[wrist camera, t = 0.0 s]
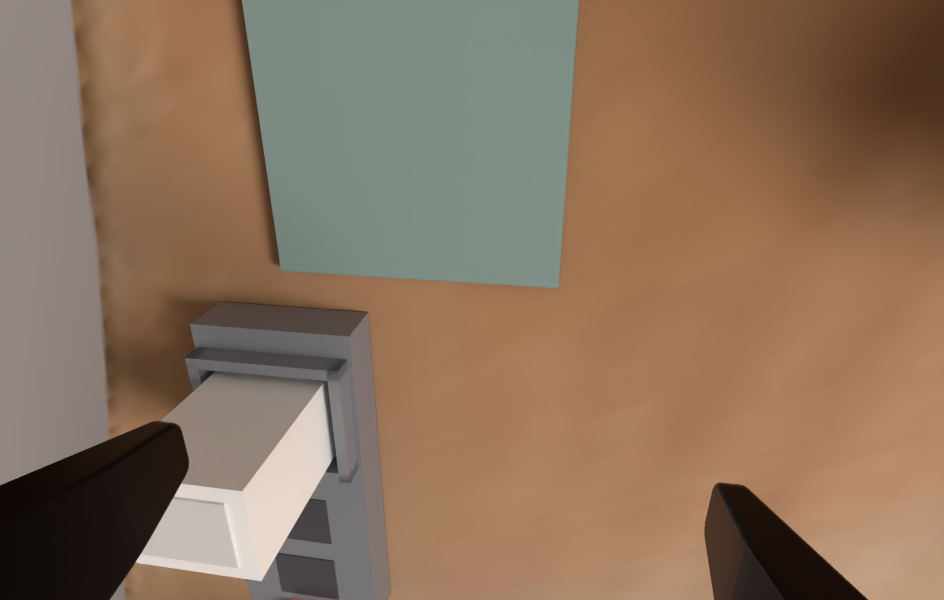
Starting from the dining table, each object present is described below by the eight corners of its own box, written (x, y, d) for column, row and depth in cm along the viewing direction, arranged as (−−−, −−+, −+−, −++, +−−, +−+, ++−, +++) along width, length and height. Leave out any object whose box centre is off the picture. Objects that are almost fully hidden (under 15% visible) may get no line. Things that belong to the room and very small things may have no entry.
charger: (337, 451, 26) (259, 583, 19) (236, 439, 26) (129, 564, 20) (328, 376, 24) (240, 493, 18) (221, 366, 25) (99, 476, 18)
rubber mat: (558, 282, 23) (558, 288, 23) (287, 266, 25) (281, 270, 24) (582, -56, 18) (582, -60, 18) (243, -48, 20) (234, -51, 19)
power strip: (390, 592, 32) (371, 648, 29) (274, 575, 33) (244, 628, 30) (368, 312, 25) (340, 348, 22) (220, 301, 26) (174, 334, 23)
